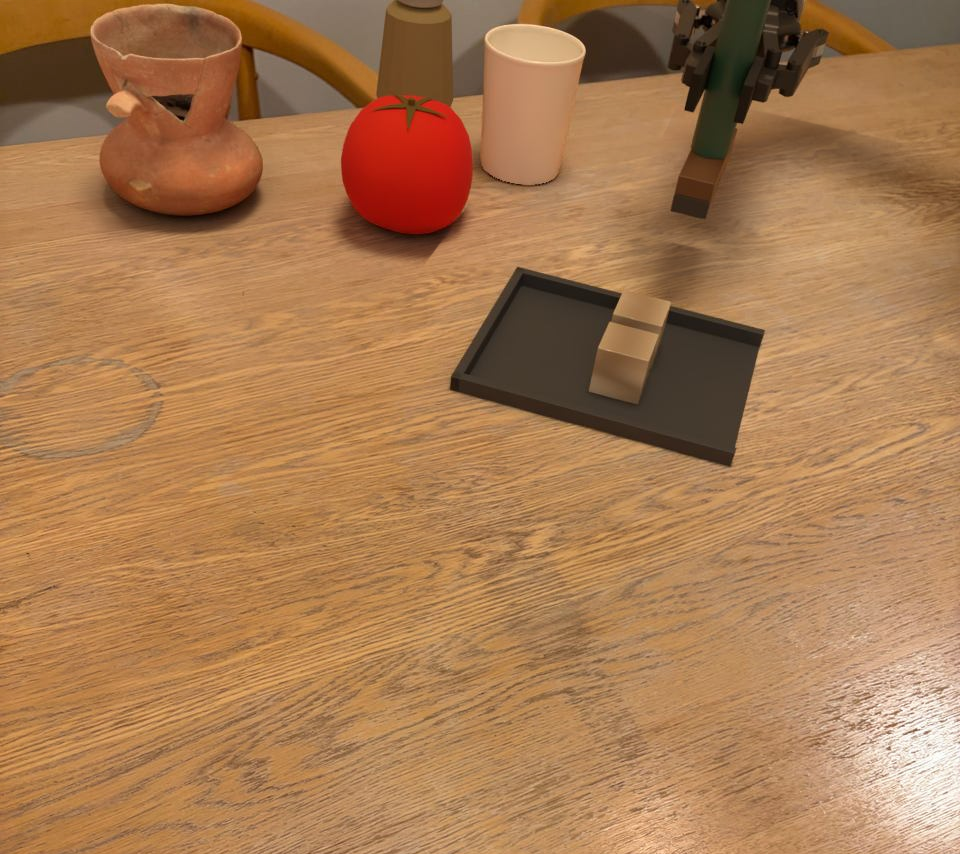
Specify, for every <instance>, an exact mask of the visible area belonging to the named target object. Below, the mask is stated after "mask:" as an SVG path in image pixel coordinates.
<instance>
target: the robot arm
mask: <svg viewBox="0 0 960 854" xmlns="http://www.w3.org/2000/svg"><path fill="white" fill-rule="evenodd" d="M807 1H808V0H771V2H770V6H769V9H768V13H767V17H766V20H765V24H764V27H763V31H762V35H761V38H760V42H759V46H758V49H757V53H756V56H755V60H754V62H753V64H752V66H751V69H750V71H749V73H748V76H747V78H746V80H745V83H744V85H743V89H742V92H741V96H740V100H739V103H738V107H737V111H736V114H735V118H734V121H733V122H735V123H737V124H740V125H744V122H745V120H746V118H747V115H748V113H749V109H750V107H751V105H752V103H753V101H754V102H757V103H758V102H759V103H763V104H764V103H766V102H768V100H769V96H770V94H771V92H772V90H778V94H779V95H781V96H782V97H785V98H791V97H793V96H794V94H795V93H796V91H797V89H798V88H799V86H800V84H801V83H802V81H803V79H804V78H805V76H806V74H807V72H808V70H810V69H811V68H814V67H816V66H818V65H820V62H821V60H822V57H823V53H824V50H825V47H826V44H827V41H828V38H829V35H830V32H829V30H826V29H824V28H816V29H813V30H810V29H805V30H803V29H802V24H801V23H800V21H801V17H802V15H803V12H804V11H805V10H804V9H805V7H806V4H807ZM726 3H727V0H716V1H715V2H711V3H710V4H708V5H707V6H706V7H705V10H703V9H702V8H701V5H699V4H695V3H694V2H693V1H692V0H678V2H677V7H676V10H675V11H676V12H675V16H674V21H673V26H672V29H671V31H672V32H671V33H673V39H672V43H671V48H670V51H669V57H668V60H667V66H666V67H667V68H668V69H669V70H671V71H681V70H683V71H682V75H681V79H680V82H681V84H684V86H686V87H687V88H688V92H687V97H686V100H685V105H684V109H683V111H685V112H689V113H692V114H693V113H694V112H695V111H696V109H697V106H698V105H699V102H700V100H701V98H702V97H703V95H704V92H705V88H706V84H707V80H708V76H709V72H710V68H711V64H712V60H713V56H714V51H715V47H716V43H717V39H718V35H719V31H720V27H721V23H722V19H723V15H724V11H725V7H726ZM701 9H702V10H701ZM700 28H702V30H703V32H704V33H702V34H701V36H699V37H698V38H697V39H695V40H694V43H691V39H693V38H694V37H695V33H696V31H698V30H700ZM802 30H803V32H802ZM791 51H793V52H791ZM788 52H791V55H790V56H789V58H788V59H787V62H786V64H782V63H781V64H780V62H781V59H782V56H783V55H782V54H783V53H788Z"/></svg>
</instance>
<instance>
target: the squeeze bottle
mask: <svg viewBox="0 0 960 854" xmlns="http://www.w3.org/2000/svg"><path fill="white" fill-rule="evenodd" d="M443 1H444V0H392V1H391V2H390V3H389V4H387V7H386V8H385V16H384V23H383V24H384V25H383V33H382V42H381V48H380V49H381V51H380V59H379V67H378V75H377V76H378V77H377V83H376V99H377V98H380V97H383V96H390V95H394V94H392V93H391V92H393V93H396V94H398V95H410V96H418V97H424V98H428V97H433V96H437V97H435V98H432V100H435V101H438V102H441V103H444V104H446V105H448V106H449V107H450V108H452V105H453V102H454V72H453V71H454V70H453V69H454V67H453V23H452V22H453V21H452V18H453V17H452V13H451V12H450V10H449V9H448V7H446V5H445V4H443ZM389 91H391V92H389Z"/></svg>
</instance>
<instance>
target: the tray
mask: <svg viewBox="0 0 960 854" xmlns="http://www.w3.org/2000/svg"><path fill="white" fill-rule="evenodd" d="M621 295H622V292H618V291H615V290H611V289H608V288H607V289H606V288H603V287H599V286H595V285H590V284H588V283H583V282H579V281H576V280H572V279H568V278H565V277H564V278H563V277H560V276H556V275H551V274H549V273H543V272H540V271H537V270H532V269H528V268H525V267H521V266H516V267H515V270H514V272H513V273H512V274H511V276H510V278H509V280H507V283H506V284H505V286H504V288H503V289H502V291H501V292H500V294H499V296H498V298H497V299H496V301H495V303H494V304H493V306H492V308H491V310H490V311H489V313H488V314H487V316H486V318H485V319H484V320H483V323H482V324H481V326H480V328H479V329H478V331H477V333H476V334H475V336H474V338H473V339H472V341H471V342H470V343H469V346H468V347H467V349H466V351H465V352H464V354H463V356H462V358H460V361H459V362H458V364H457V365H456V367H455V369H454V370H453V372H452V373H451V375H450V383H449V391H452V392H457V393H460V394H463V395H466V396H467V395H468V396H471V397H473V398H478V399H481V400H486V401H489V402H492V403H497V404H500V405H503V406H507V407H511V408H513V409H514V408H515V409H518V410H522V411H526V412H529V413H533V414H536V415H539V416H542V417H548V418H550V419H554V420H557V421H561V422H564V423H569V424H572V425H577V426H580V427H584V428H588V429H591V430H595V431H598V432H600V433H601V432H602V433H605V434H609V435H613V436H617V437H620V438H624V439H628V440H631V441H635V442H638V443H641V444H646V445H649V446H653V447H656V448H660V449H663V450H666V451H670V452H674V453H679V454H682V455H685V456H689V457H693V458H697V459H699V460H700V459H701V460H703V461H706V462H707V461H708V462H711V463H715V464H718V465H723V466H726V467H728V468H729V467H731V466H732V464H733V460H734V457H735V456H736V452H737V447H736V445H737V441H738V437H739V433H740V429H741V425H742V422H743V421H742V420H743V416H744V412H745V408H746V404H747V400H748V395H749V392H750V388H751V383H752V380H753V376H754V372H755V368H756V363H757V361H758V360H757V359H758V356H759V351H760V348H761V344H762V342H763V339H764V336H765V332H766V330H765V329H763V328H758V327H754V326H751V325H747V324H745V323H744V324H743V323H739V322H737V321H736V322H735V321H732V320H728V319H724V318H719V317H715V316H712V315H709V314H704V313H702V312H701V313H700V312H696V311H693V310H689V309H684V308H681V307H678V306H673V305H671V306H670V309H669V313H668V317H667V321H666V325H665V328H664V332H663V336H662V340H661V343H660V346H659V349H658V352H657V355H656V357H655V360H654V363H653V365H652V368H651V369H650V372H649V375H648V379H647V381H646V384H645V387H644V390H643V392H642V395H641V398H640V400H639V403H638V405H636V404H633V403H629V402H625V401H621V400H618V399H614V398H610V397H607V396H603V395H599V394H596V393H592V392H589V387H590V382H591V377H592V373H593V368H594V363H595V359H596V354H597V349H598V346H599V344H600V342H601V339H602V337H603V335H604V333H605V330H606V328H607V326H608V324H609V322H611V320H612V316H613V313H614V310H615V308H616V306H617V304H618V301H619V299H620V297H621Z"/></svg>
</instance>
